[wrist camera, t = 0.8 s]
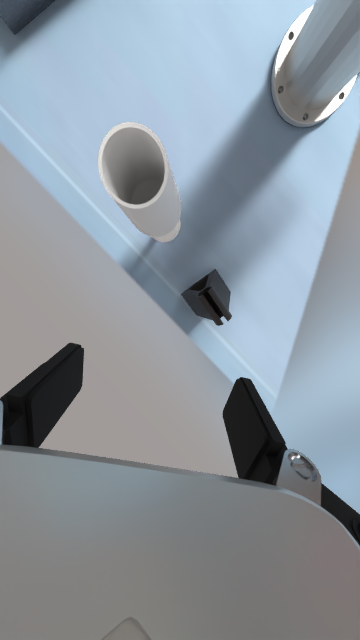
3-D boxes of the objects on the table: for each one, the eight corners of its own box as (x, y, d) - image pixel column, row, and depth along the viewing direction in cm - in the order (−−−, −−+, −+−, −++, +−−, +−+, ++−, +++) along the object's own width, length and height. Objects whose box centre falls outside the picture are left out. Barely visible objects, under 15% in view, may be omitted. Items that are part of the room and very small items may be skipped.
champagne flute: (143, 237, 35) (79, 209, 13) (149, 198, 33) (86, 83, 11) (176, 246, 36) (170, 235, 14) (184, 209, 34) (195, 121, 11)
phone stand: (196, 314, 41) (202, 337, 30) (180, 293, 39) (181, 309, 28) (230, 291, 39) (250, 307, 28) (215, 268, 38) (231, 275, 26)
